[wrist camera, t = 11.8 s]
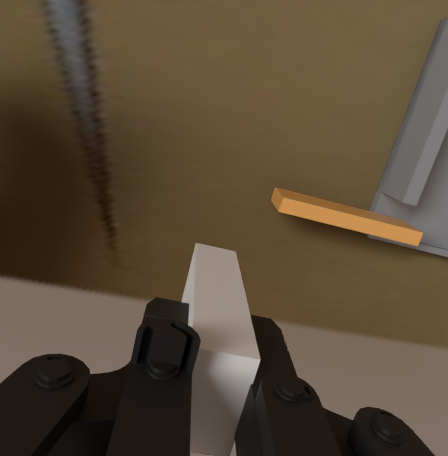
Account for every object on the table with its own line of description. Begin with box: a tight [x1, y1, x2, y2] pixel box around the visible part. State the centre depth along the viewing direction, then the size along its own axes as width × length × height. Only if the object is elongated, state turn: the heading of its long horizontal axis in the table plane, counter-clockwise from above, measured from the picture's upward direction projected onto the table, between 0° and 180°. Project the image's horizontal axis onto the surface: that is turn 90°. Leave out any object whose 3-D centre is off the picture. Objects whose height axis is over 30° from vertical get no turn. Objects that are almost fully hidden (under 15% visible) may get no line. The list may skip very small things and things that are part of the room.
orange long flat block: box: [271, 187, 423, 246], centre depth 34 cm, size 12×1×4 cm, turn 75°
